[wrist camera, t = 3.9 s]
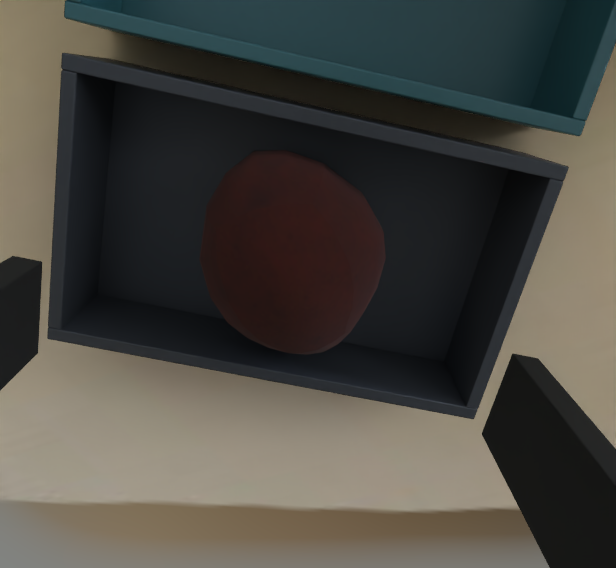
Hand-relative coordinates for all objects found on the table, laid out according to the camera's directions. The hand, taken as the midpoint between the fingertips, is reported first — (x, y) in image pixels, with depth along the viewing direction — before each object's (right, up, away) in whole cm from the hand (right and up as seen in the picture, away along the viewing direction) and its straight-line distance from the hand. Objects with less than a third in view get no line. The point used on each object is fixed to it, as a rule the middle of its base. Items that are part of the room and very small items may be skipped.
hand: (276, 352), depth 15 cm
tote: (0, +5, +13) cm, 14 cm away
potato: (0, +5, +12) cm, 13 cm away
